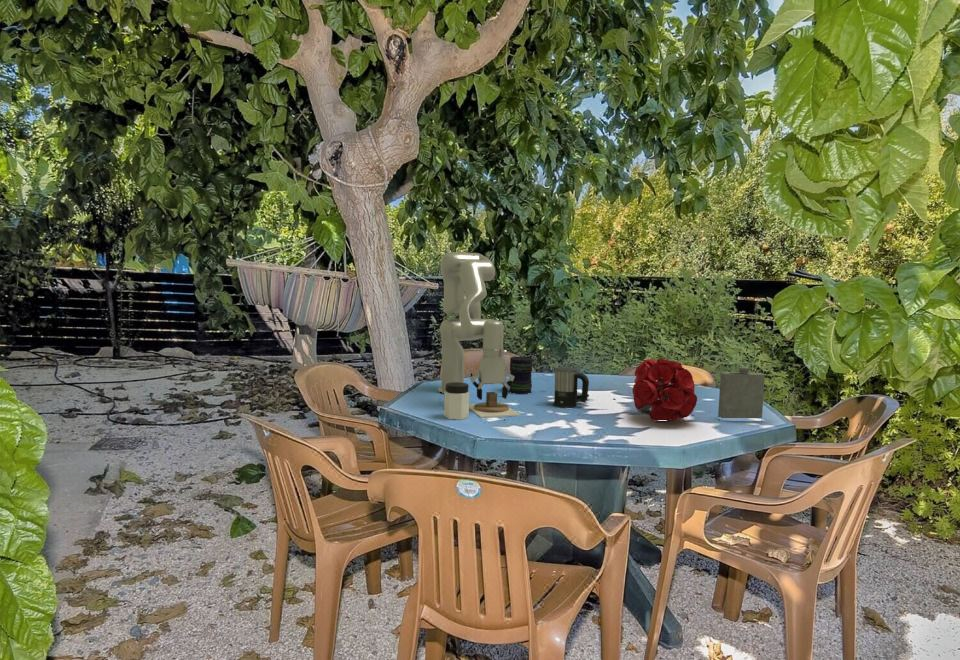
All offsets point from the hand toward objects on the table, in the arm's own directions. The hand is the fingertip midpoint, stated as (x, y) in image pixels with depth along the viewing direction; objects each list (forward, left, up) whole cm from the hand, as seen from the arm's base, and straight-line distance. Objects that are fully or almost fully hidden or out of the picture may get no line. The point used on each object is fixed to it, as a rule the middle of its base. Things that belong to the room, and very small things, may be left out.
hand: (492, 398), depth 232 cm
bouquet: (+24, +57, -5) cm, 62 cm away
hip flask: (+34, +85, -5) cm, 91 cm away
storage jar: (-30, +23, -5) cm, 38 cm away
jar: (+7, -16, -5) cm, 18 cm away
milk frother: (-5, +35, -5) cm, 36 cm away
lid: (0, 0, -4) cm, 4 cm away
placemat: (+1, 0, -5) cm, 5 cm away
